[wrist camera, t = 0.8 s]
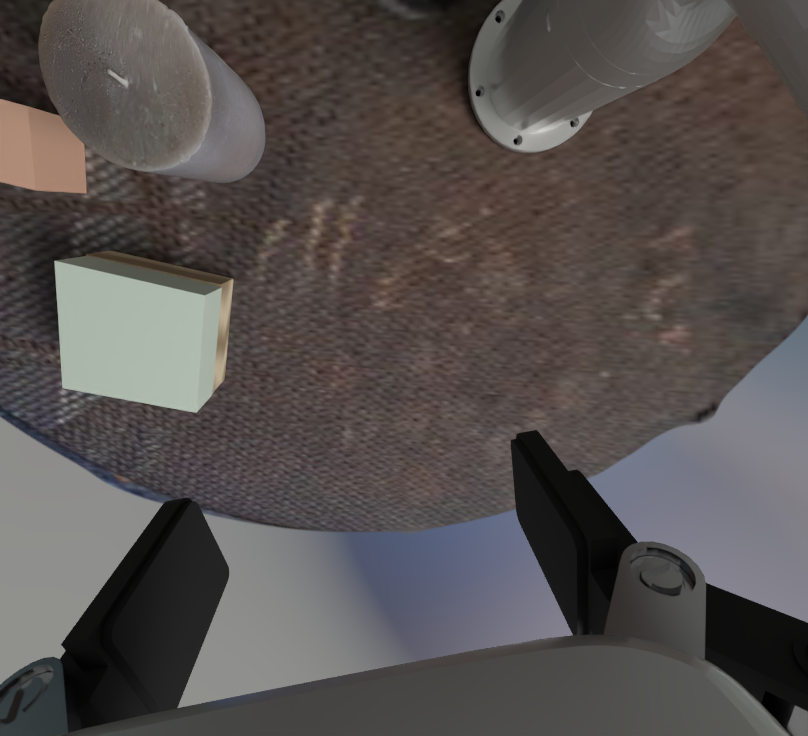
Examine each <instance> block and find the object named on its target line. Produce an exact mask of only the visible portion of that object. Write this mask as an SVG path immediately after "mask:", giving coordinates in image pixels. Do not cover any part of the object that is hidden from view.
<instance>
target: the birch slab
mask: <svg viewBox="0 0 808 736" xmlns="http://www.w3.org/2000/svg"><path fill="white" fill-rule="evenodd" d="M86 256H91V257H95V258H100V259H104V260H108V261H112V262H117V263H121V264H125V265H129V266H134V267H138V268H142V269H146V270H151V271H155V272H159V273H163V274H168V275H172V276H176V277H180V278H185V279H189V280H193V281H197V282H202V283H206V284H210V285H214V286H219V287H222V293H221V304H220V315H219V327H218V338H217V349H216V360H215V371H214V382H213V392H214V390H215V389H216V388H217V387H218V386H219V385H220V384H221V383H222V382H223V380H224V379H225V368H226V356H227V345H228V334H229V322H230V311H231V300H232V288H233V278H228V277H224V276H220V275H215V274H211V273H207V272H202V271H198V270H194V269H189V268H185V267H181V266H176V265H172V264H168V263H163V262H159V261H155V260H150V259H146V258H142V257H137V256H133V255H129V254H124V253H120V252H116V251H104V252H97V253H91V254H86Z"/></svg>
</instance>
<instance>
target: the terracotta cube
mask: <svg viewBox="0 0 808 736" xmlns="http://www.w3.org/2000/svg"><path fill="white" fill-rule="evenodd" d="M0 182H3V183H7V184H11V185H15V186H20V187H24V188H28V189H32V190H37V191H55V192H72V193H87V192H86V172H85V153H84V143H82V142H81V141H80V140H79V139H78V138H77V137H76V136H75V135H74V134H73V133H72V131H71V130H70V129H69V128H68V127H67V125H66V124H65V123H64V121H63V120H62V119H61V117H60V116H59V115H55V114H52V113H49V112H45V111H42V110H38V109H35V108H32V107H28V106H25V105H21V104H17V103H14V102H10V101H6V100H2V99H0Z"/></svg>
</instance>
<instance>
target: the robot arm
mask: <svg viewBox="0 0 808 736" xmlns="http://www.w3.org/2000/svg"><path fill="white" fill-rule="evenodd" d="M736 15H737V17H738V18H739V20H740V21H741V23H742V24H743V26H744V27H745V29H746V30H747V32H748V33H749V35H750V37H751V38H752V39H754V40H756V41H757V43H758V45H759V46H760V48H761V49H762V51H763V52H764V54H765V55H766V57H767V58H768V60H769V61H770V63H771V65H772V66H773V68H774V69H775V71H776V72H777V74H778V75H779V77H780V78H781V80H782V81H783V83H784V85H785V86H786V88H787V89H788V91H789V92H790V94H791V95H792V97H793V98H794V100H795V102H796V103H797V105H798V106H799V108H800V109H801V111H802V112H803V114H804V115H805V116H806V117H807V119H808V0H502V1H501V2H500V3H499V4H498V5H497V6H496V7H495V8H494V9H493V11H492V12H491V13H490V15H489V16H488V17H487V19H486V20H485V22H484V24H483V25H482V27H481V29H480V31H479V33H478V36H477V38H476V40H475V43H474V45H473V48H472V52H471V56H470V60H469V69H468V92H469V97H470V102H471V106H472V109H473V112H474V114H475V116H476V119H477V121H478V123H479V124H480V126H481V127H482V129H483V130H484V132H485V133H486V134H487V135H488V136H489V137H490V138H491V139H492V140H493V141H494V142H496V143H497V144H499V145H500V146H502V147H503V148H506V149H509V150H511V151H514V152H520V153H536V152H541V151H544V150H548V149H550V148H553V147H555V146H557V145H560V144H561V143H563V142H564V141H566V140H567V139H569V138H570V137H572V136H573V135H574V134H575V133H576V132H577V131H578V130H579V129H580V128H581V127H582V126H583V124H584V123H585V122H586V120H587V119H588V118H589V116H590V115H591V113H592V111H593V110H594V109H596V108H598V107H601V106H603V105H605V104H607V103H609V102H611V101H614V100H616V99H618V98H620V97H622V96H624V95H626V94H629V93H631V92H633V91H635V90H637V89H639V88H642V87H644V86H646V85H648V84H650V83H652V82H655V81H657V80H658V79H660V78H662V77H664V76H667V75H669V74H671V73H672V72H674V71H676V70H678V69H680V68H681V67H683V66H685V65H686V64H688V63H689V62H691V61H692V60H693V59H694V58H696V57H697V56H698V55H699V54H701V53H702V52H703V51H704V50H705V49H707V48H708V47H709V46H710V45H711V44H712V43H713V42H714V41H715V40H716V39H717V38H718V37H719V35H720V34H721V33H722V32H723V31H724V30H725V29H726V27H727V26H728V25H729V24H730V23H731V22H732V20H733V19H734V18H735V17H736ZM496 18H498V19H499V21H500V23H497V22H496V20H495V19H496ZM476 91H479V92H480V96H479V97H478V96H476ZM570 121H571V122H572V127H571V125H570ZM514 139H516V140H517V144H516V145H515V144H514V142H513V140H514ZM511 453H512V465H513V477H514V489H515V502H516V512H517V516H518V520H519V522H520V525H521V527H522V528H523V531H524V533H525V535H526V537H527V540H528V541H529V544H530V546H531V547H532V550H533V552H534V554H535V556H536V558H537V560H538V563H539V565H540V567H541V569H542V571H543V573H544V575H545V577H546V579H547V581H548V584H549V586H550V588H551V590H552V592H553V594H554V596H555V598H556V600H557V602H558V605H559V606H560V609H561V611H562V613H563V615H564V617H565V619H566V621H567V623H568V626H569V628H570V630H571V632H572V633H573V636H564V637H556V638H548V639H539V640H533V641H527V642H522V643H516V644H510V645H504V646H499V647H492V648H486V649H480V650H474V651H469V652H464V653H459V654H453V655H448V656H443V657H437V658H432V659H427V660H421V661H416V662H411V663H406V664H401V665H395V666H390V667H384V668H379V669H374V670H369V671H364V672H359V673H353V674H348V675H343V676H338V677H333V678H327V679H322V680H317V681H312V682H307V683H302V684H297V685H292V686H287V687H282V688H276V689H271V690H266V691H262V692H256V693H251V694H246V695H241V696H236V697H231V698H226V699H221V700H216V701H211V702H206V703H202V704H197V705H192V706H187V707H182V708H177V707H178V705H179V702H180V699H181V697H182V695H183V692H184V690H185V687H186V684H187V682H188V679H189V677H190V674H191V672H192V669H193V667H194V664H195V662H196V659H197V657H198V654H199V652H200V649H201V647H202V644H203V642H204V639H205V637H206V634H207V631H208V629H209V627H210V624H211V622H212V619H213V617H214V614H215V612H216V609H217V607H218V604H219V601H220V599H221V597H222V594H223V591H224V589H225V587H226V584H227V581H228V578H229V568H228V565H227V563H226V561H225V559H224V557H223V555H222V552H221V550H220V549H219V546H218V544H217V542H216V540H215V538H214V536H213V534H212V532H211V530H210V528H209V526H208V524H207V522H206V520H205V517H204V515H203V513H202V511H201V509H200V507H199V505H198V504H197V503H196V502H194V501H193V502H192V500H191V499H189V498H182V499H177V500H171V501H167V502H165V503H164V504H163V505H162V506H161V508H160V509H159V511H158V512H157V513H156V515H155V516H154V518H153V519H152V520H151V522H150V523H149V524H148V526H147V527H146V529H145V530H144V531H143V533H142V534H141V535H140V537H139V538H138V539H137V541H136V542H135V544H134V545H133V546H132V548H131V549H130V550H129V552H128V553H127V555H126V556H125V557H124V559H123V560H122V561H121V563H120V564H119V566H118V567H117V568H116V570H115V571H114V573H113V574H112V575H111V577H110V578H109V579H108V581H107V582H106V583H105V585H104V586H103V588H102V589H101V590H100V592H99V593H98V595H97V596H96V597H95V599H94V600H93V601H92V603H91V604H90V605H89V607H88V608H87V610H86V611H85V612H84V614H83V615H82V617H81V618H80V619H79V621H78V622H77V623H76V625H75V626H74V627H73V629H72V630H71V632H70V633H69V635H68V636H67V637H66V638H65V640H64V641H63V643H62V644H61V645H62V646H63V647H64V648H65V650H66V651H65V653H64V654H63V656H62V657H61V658H60V659H58V658H55V657H48V658H43V659H40V660H37V661H35V662H32V663H30V664H29V665H27V666H25V667H24V668H22V669H20V670H19V671H17V672H16V673H14V674H13V675H12V676H10V677H9V678H8V679H6V680H5V681H4V682H3V683H2V684H1V685H0V736H808V623H807V622H804V621H802V620H799V619H796V618H794V617H791V616H789V615H786V614H784V613H781V612H778V611H776V610H773V609H771V608H768V607H766V606H763V605H761V604H758V603H756V602H753V601H751V600H748V599H745V598H743V597H740V596H738V595H735V594H733V593H730V592H728V591H725V590H722V589H720V588H717V587H715V586H712V585H710V584H707V583H706V582H705V578H704V575H703V573H702V571H701V570H700V568H699V567H698V565H697V564H696V563H694V562H693V560H692V559H690V558H689V557H688V556H687V555H685V554H683V553H682V552H680V551H679V550H677V549H675V548H673V547H670V546H668V545H665V544H661V543H656V542H639V543H638V542H637V541H636V540H635V538H634V537H633V536H632V535H631V533H630V532H629V531H628V530H627V528H626V527H625V526H624V525H623V524H622V522H621V521H620V520H619V519H618V517H617V516H616V515H615V514H614V512H613V511H612V510H611V509H610V508H609V507H608V505H607V504H606V503H605V502H604V500H603V499H602V498H601V496H600V495H599V494H598V493H597V491H596V490H595V489H594V488H593V486H592V485H591V484H590V483H589V481H588V480H587V479H586V478H585V477H584V475H583V474H582V473H581V472H580V471H578V470H572V471H568V470H567V469H566V467H565V466H564V465H563V464H562V462H561V461H560V460H559V458H558V457H557V456H556V454H555V453H554V452H553V450H552V449H551V448H550V447H549V445H548V444H547V443H546V441H545V440H544V439H543V437H542V436H541V435H540V433H539V432H538V431H537V430H534V431H529V432H523V433H518V434H517V436H516V439H514V440H511Z"/></svg>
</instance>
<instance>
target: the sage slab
mask: <svg viewBox="0 0 808 736" xmlns="http://www.w3.org/2000/svg"><path fill="white" fill-rule="evenodd" d="M55 277H56V292H57V308H58V323H59V338H60V354H61V369H62V385H63V388H65V389H71V390H76V391H82V392H87V393H92V394H98V395H103V396H109V397H114V398H119V399H125V400H130V401H136V402H141V403H146V404H152V405H157V406H163V407H168V408H173V409H179V410H184V411H190V412H195V413H196V412H197V411H198V410H199V409H200V408H201V407H202V406H203V405H204V404H205V402H206V401H207V400H208V399H209V398H210V397H211V396H212V393H213V382H214V371H215V360H216V349H217V338H218V327H219V315H220V304H221V293H222V287H219V286H214V285H210V284H206V283H202V282H197V281H193V280H189V279H185V278H180V277H176V276H172V275H168V274H163V273H159V272H155V271H151V270H146V269H142V268H138V267H134V266H129V265H125V264H121V263H117V262H112V261H108V260H104V259H100V258H95V257H91V256H83V257H76V258H69V259H63V260H56V261H55Z"/></svg>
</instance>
